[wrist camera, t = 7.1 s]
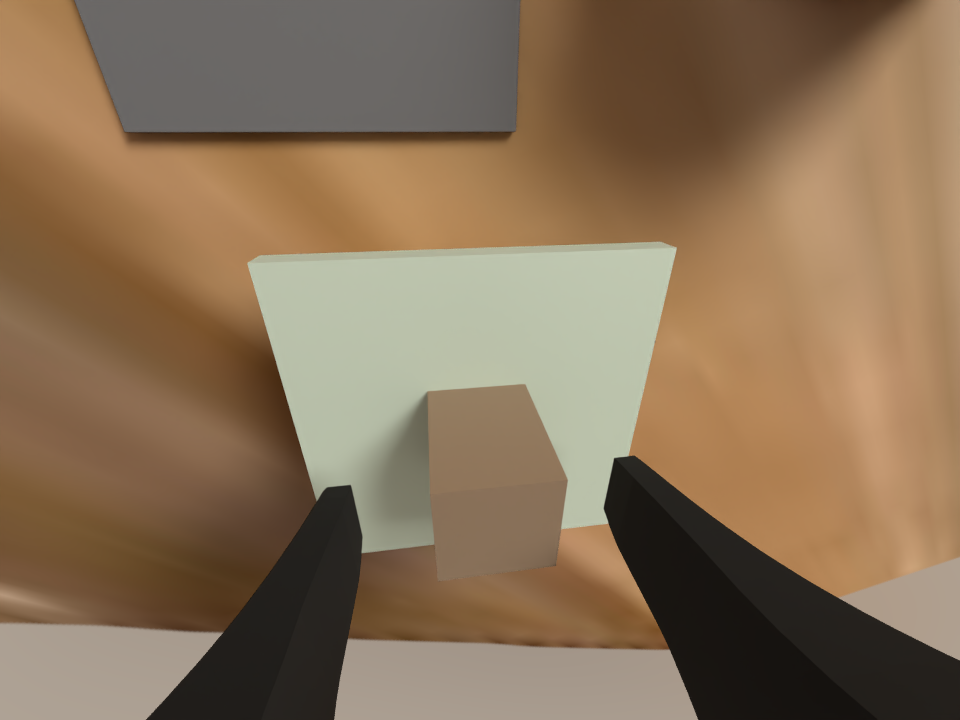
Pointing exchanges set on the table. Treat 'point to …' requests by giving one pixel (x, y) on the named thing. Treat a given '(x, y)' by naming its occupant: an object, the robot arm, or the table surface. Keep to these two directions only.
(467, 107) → the mat
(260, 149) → the table surface
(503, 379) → the lid
